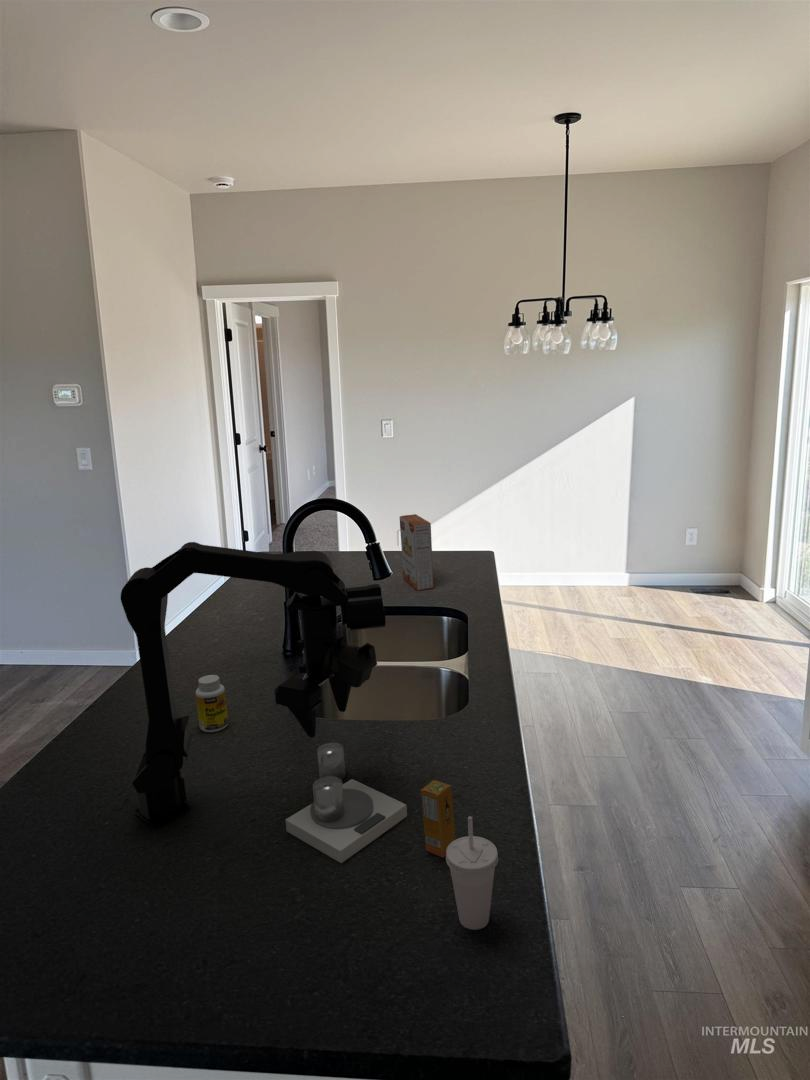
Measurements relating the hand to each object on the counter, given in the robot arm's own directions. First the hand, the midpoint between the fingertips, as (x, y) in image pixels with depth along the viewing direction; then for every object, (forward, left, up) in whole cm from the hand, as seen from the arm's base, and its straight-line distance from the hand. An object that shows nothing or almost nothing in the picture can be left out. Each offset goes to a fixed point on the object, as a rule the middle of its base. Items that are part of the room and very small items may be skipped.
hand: (327, 723), depth 121 cm
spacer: (-7, -8, -9) cm, 14 cm away
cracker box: (+95, +63, -12) cm, 115 cm away
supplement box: (-1, -24, -12) cm, 27 cm away
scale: (-5, -9, -12) cm, 16 cm away
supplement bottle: (+1, +35, -12) cm, 37 cm away
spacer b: (+3, +3, -12) cm, 13 cm away
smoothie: (-9, -36, -12) cm, 39 cm away
